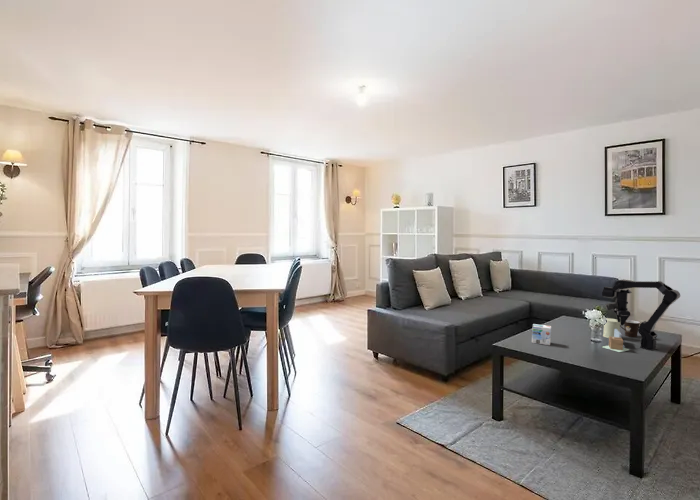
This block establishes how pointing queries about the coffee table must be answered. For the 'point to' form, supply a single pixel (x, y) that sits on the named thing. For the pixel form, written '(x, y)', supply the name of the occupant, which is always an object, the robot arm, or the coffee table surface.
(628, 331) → the coffee mug
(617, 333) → the screen
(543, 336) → the light bulb box
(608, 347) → the mat
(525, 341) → the coffee table surface
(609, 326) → the can
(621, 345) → the letter cube
